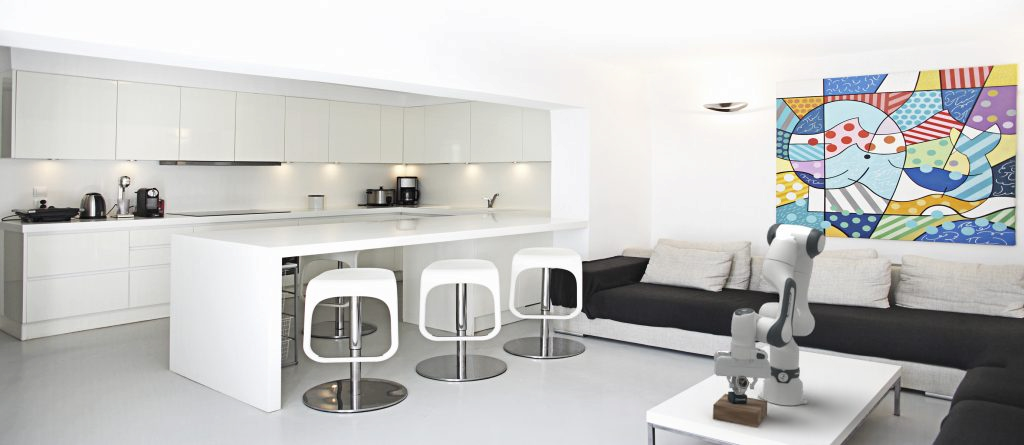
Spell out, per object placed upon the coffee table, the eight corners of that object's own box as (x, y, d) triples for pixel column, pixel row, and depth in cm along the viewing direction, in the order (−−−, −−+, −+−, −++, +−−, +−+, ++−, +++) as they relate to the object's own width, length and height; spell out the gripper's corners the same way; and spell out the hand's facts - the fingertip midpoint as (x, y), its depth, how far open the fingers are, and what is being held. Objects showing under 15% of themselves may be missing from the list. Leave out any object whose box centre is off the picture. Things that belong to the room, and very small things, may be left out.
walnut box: (724, 408, 284) (725, 393, 284) (766, 416, 276) (767, 400, 275) (712, 420, 271) (713, 404, 270) (756, 428, 262) (757, 412, 262)
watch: (735, 406, 269) (738, 377, 267) (725, 397, 277) (728, 370, 275) (749, 405, 270) (752, 377, 268) (739, 397, 278) (741, 369, 276)
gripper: (715, 352, 270) (713, 389, 271) (772, 355, 267) (771, 392, 268) (713, 348, 276) (712, 384, 277) (769, 351, 273) (767, 387, 274)
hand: (741, 388), depth 272 cm, fingers open, 6 cm apart
